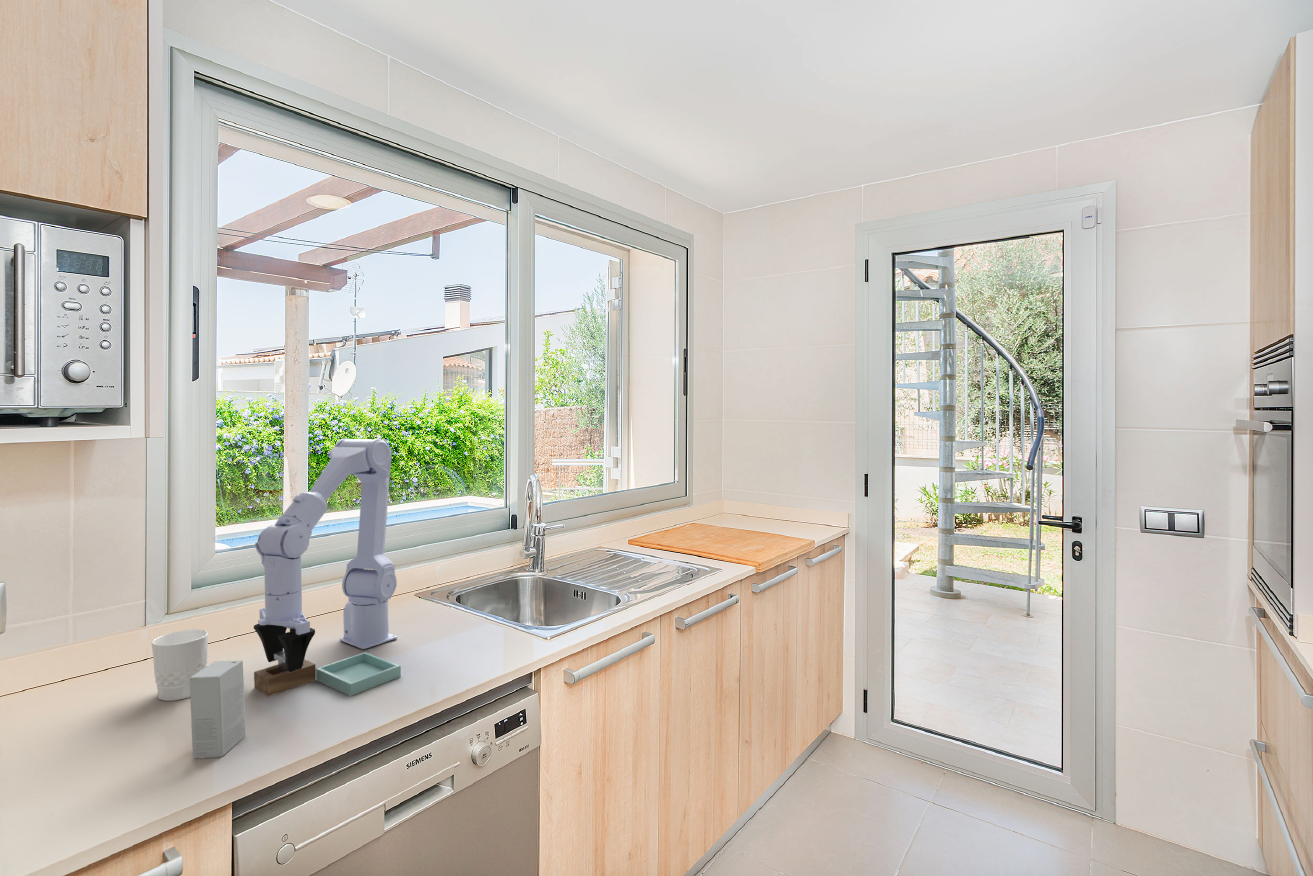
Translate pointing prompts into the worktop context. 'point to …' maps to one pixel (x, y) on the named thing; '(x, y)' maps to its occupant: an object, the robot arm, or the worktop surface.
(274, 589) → the robot arm
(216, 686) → the skincare box
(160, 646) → the white cup
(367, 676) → the tray
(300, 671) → the frame ring
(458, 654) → the worktop surface
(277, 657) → the t post
